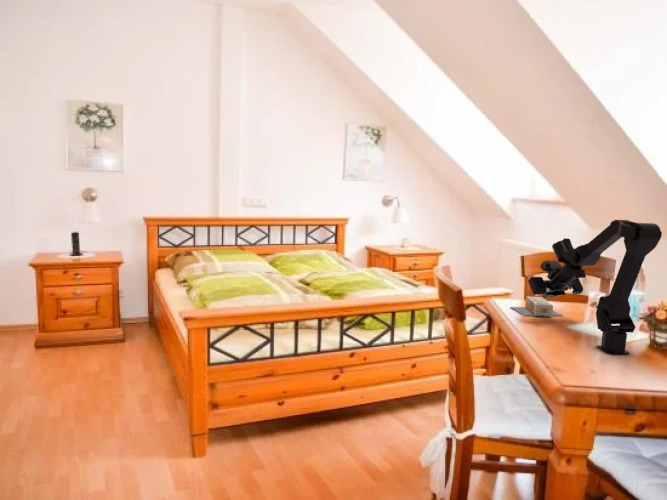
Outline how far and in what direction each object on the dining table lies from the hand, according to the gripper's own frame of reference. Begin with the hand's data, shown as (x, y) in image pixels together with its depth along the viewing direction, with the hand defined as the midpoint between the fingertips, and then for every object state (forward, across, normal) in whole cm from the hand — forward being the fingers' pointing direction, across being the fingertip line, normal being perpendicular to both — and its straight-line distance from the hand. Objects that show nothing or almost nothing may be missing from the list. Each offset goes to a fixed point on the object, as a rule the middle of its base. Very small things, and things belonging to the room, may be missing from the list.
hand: (543, 297), depth 190 cm
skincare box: (+3, 0, +4) cm, 5 cm away
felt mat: (+10, -2, 0) cm, 10 cm away
